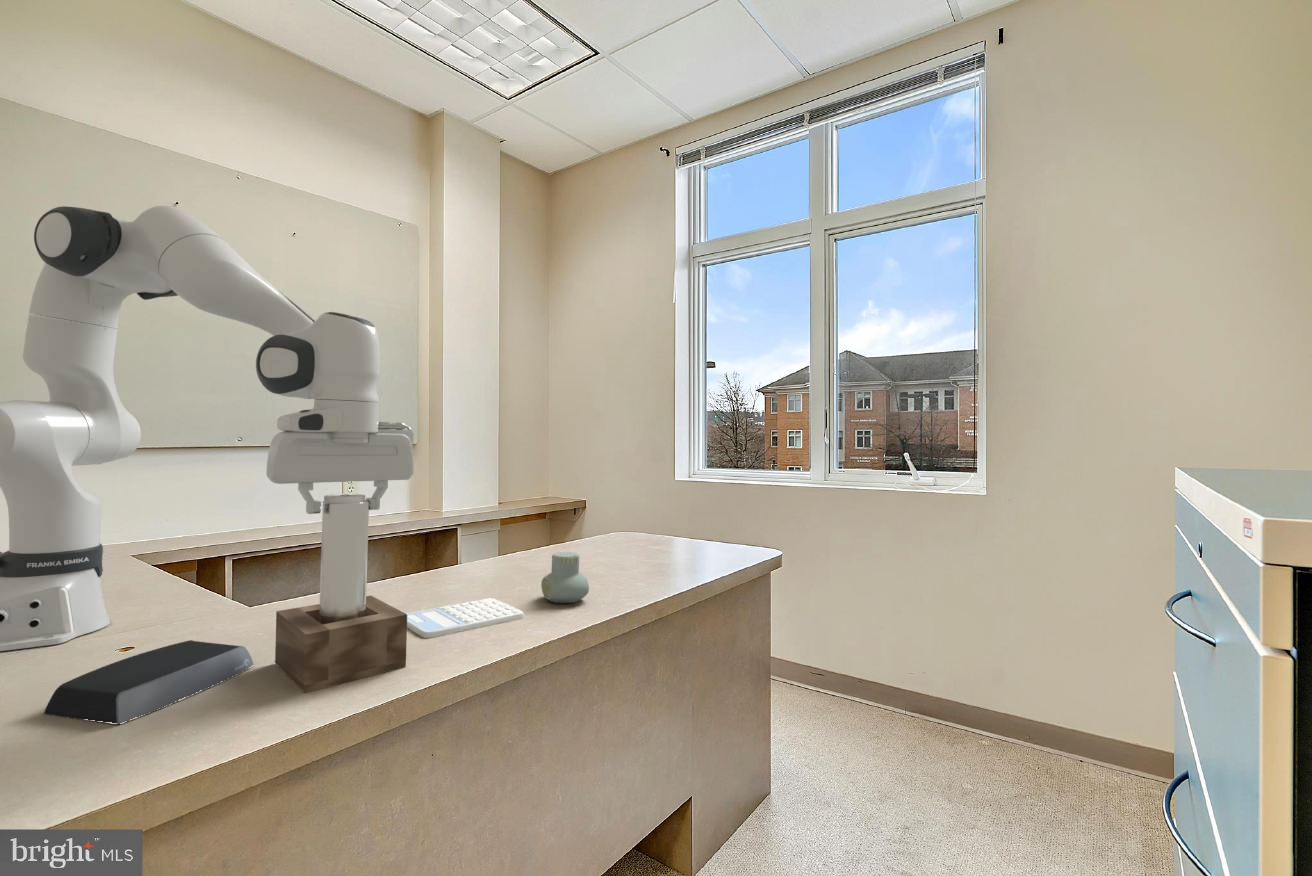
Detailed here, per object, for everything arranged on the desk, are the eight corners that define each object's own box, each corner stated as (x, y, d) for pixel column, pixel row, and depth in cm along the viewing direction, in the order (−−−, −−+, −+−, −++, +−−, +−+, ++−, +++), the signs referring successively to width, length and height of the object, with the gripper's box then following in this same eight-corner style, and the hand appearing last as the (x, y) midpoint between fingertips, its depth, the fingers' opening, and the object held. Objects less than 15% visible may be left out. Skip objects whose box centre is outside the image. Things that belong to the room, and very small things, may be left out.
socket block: (304, 692, 83) (305, 634, 83) (275, 663, 93) (276, 611, 93) (405, 666, 93) (407, 614, 93) (369, 642, 103) (371, 595, 103)
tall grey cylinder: (351, 666, 90) (356, 497, 90) (307, 664, 90) (313, 495, 90) (372, 650, 97) (377, 493, 97) (332, 649, 97) (336, 491, 97)
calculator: (525, 620, 119) (526, 610, 119) (425, 642, 106) (425, 631, 106) (492, 604, 129) (492, 595, 129) (396, 622, 115) (396, 612, 115)
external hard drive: (259, 669, 92) (259, 642, 92) (122, 730, 73) (123, 696, 73) (187, 660, 94) (188, 634, 94) (37, 717, 75) (38, 684, 75)
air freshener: (538, 595, 135) (539, 550, 135) (573, 592, 139) (574, 548, 139) (554, 609, 126) (555, 560, 126) (591, 604, 130) (593, 557, 130)
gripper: (405, 422, 102) (402, 504, 103) (264, 417, 88) (261, 513, 88) (422, 423, 98) (419, 509, 98) (277, 418, 83) (274, 519, 83)
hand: (344, 511), depth 93 cm, fingers open, 7 cm apart
